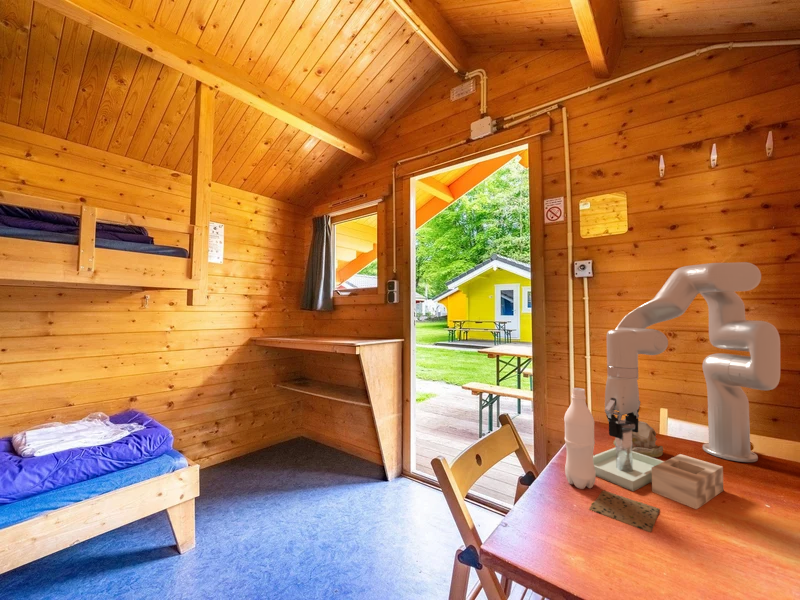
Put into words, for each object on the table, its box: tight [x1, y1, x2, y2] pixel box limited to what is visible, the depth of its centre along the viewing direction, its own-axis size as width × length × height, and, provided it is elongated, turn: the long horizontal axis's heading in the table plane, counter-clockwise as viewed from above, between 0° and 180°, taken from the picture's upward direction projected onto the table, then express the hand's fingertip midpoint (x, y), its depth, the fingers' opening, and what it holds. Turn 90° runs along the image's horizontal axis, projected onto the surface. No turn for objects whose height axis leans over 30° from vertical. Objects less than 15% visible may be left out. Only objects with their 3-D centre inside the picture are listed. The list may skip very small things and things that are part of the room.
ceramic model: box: [613, 418, 664, 458], centre depth 114 cm, size 14×11×10 cm
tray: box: [593, 446, 665, 492], centre depth 98 cm, size 20×14×2 cm
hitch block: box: [651, 453, 724, 510], centre depth 87 cm, size 16×9×6 cm, turn 120°
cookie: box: [588, 490, 661, 533], centre depth 80 cm, size 12×12×1 cm
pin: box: [614, 419, 635, 472], centre depth 98 cm, size 6×6×13 cm
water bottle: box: [563, 387, 597, 490], centre depth 91 cm, size 7×7×25 cm
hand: (623, 433), depth 99 cm, fingers open, 8 cm apart
